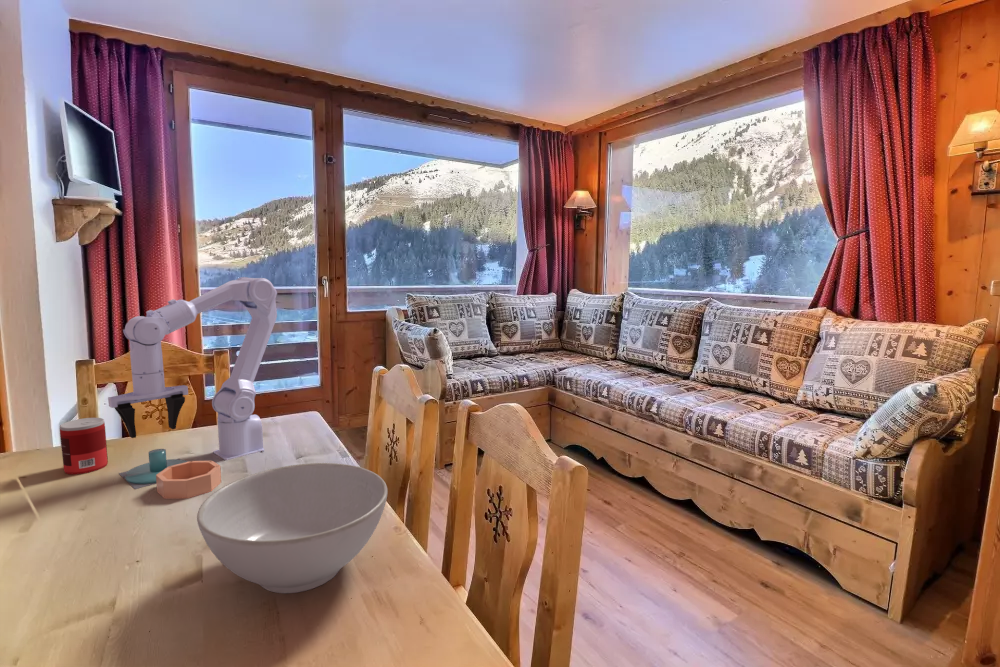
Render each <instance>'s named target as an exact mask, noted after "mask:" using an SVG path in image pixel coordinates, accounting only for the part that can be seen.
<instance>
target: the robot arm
mask: <svg viewBox="0 0 1000 667" xmlns="http://www.w3.org/2000/svg"><path fill="white" fill-rule="evenodd" d="M277 296H278V291H277V289H276V288H275V287H274V284H273V283H272V281H270V280H269V279H267V278H263V277H255V278H254V277H247V276H242V277H238V278H237V279H233V280H229V281H227V282H225V283H223V284H222V285H220V286H218V287H216V288H214V289H211V290H209V291H207V292H205V293H203V294H202V295H199V296H197V297H195V298H193V299H191V300H190V301H187V300H185V299H181V298H180V299H178V300H176V299H170V300H168V301H167V303H168V304H166V305H163V306H161V307H160V308H157V309H155V310H153V309H149V310H147V311H146V312H145V313H146V316H144V315H141V316H140V315H137V316H134V317H132V318H131V319H128V321H127V322H126V323H125V327H124V329H123V330H122V332H123V334H124V336H125V338H126V339H127V340H129V341H128V342H129V350H130V351H129V355H130V357H129V358H130V366H131V367H130V368H131V379H132V388H133V389H132V392H128V393H124V394H119V395H114V396H113V395H112V396H108V397H107V400H108V401H107V402H108V407H110V408H111V409H114V410H115V411H116V412H117V414H118V415H119V417H120V418H121V420H122V421H123V423H124V426H125V427H126V430H127V432H128V436H129V437H130V438H131V439H134V438H135V439H136V438H137V430H136V421H135V417H136V416H135V415H136V408H134V407H133V405H132V404H138V403H145V402H148V401H149V402H150V401H153V400H155V401H156V400H160V399H165V404H166V409H167V422H168V423H167V424H168V428H170V430H175V429H176V430H177V423H178V418H179V416H180V412H181V411H182V410H181V409H182V407H183V405H184V404H185V402H186V396H188V395H189V388H188V387H189V386H188V385H185V384H183V385H173V386H166V385H165V384H166V383H165V371H164V360H163V358H164V357H163V350H162V341H163V340H164V339H165V336H166V335H167V336H168V335H170V334H171V333H173V332H175V331H178V330H181V329H182V328H184V327H186V326H188V325H190V324H192V323H194V322H195V321H196V319H197V317H198V315H199V314H201V313H203V312H206V311H208V310H210V309H213V308H215V307H217V306H219V305H221V304H225V303H227V302H230V301H238V302H239V303H240V304H241V305H243V306H244V308H246V310H247V311H248V314H249V315H250V316H251V320H250V323H249V325H248V328H247V331H246V334H245V336H244V338H243V341H242V343H241V344H242V345H240V346H241V347H240V350H239V351H238V356H237V358H236V360H235V363H234V365H233V368H232V371H231V374H230V376H229V377H228V378H227V379H226V380H225V381H224V382H222V385H221V387H220V388H219V390H218V391H217V392H216V393H215V394H214V395H213V397H212V401H211V406H212V409H213V410H214V411H215V412H216V413H217V419H216V420H217V432H218V434H217V436H218V448H219V449H216V450H212V453H213V454H215V455H216V456H217V457H220V458H221V459H222V460H224V461H228V460H229V461H230V460H234V459H236V458H240V457H244V456H247V455H253V454H256V453H261V451H262V452H265V451H264V450H266V449H265V448H264V434H263V423H262V420H261V418H260V416H259V415H258V414H253V413H254V411H255V408H256V407H255V406H256V405H255V398H256V394H257V390H256V388H255V385H254V382H255V379H256V376H257V374H258V371H259V368H260V366H261V362H262V360H263V356H264V354H265V352H266V349H267V346H268V344H269V340H270V338H271V335H272V332H273V330H274V326H275V324H276V321H277V317H278V313H277V311H278V310H277V302H276V299H277V298H276V297H277ZM185 395H186V396H185Z"/></svg>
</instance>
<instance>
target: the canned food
mask: <svg viewBox="0 0 1000 667" xmlns="http://www.w3.org/2000/svg"><path fill="white" fill-rule="evenodd" d="M59 436H60V446H61V457H62V465H63V466H62V467H63V471H64V473H65V474H67V475H71V476H72V475H81V474H90V473H92V472H96V471H100V470H101V469H104V468H105V467H107V466H108V463H109V458H108V447H107V434H106V425H105V419H104V418H101V417H86V418H78V419H73V420H69V421H66V422H63V423H61V424H60V426H59Z"/></svg>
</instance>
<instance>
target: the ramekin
mask: <svg viewBox="0 0 1000 667" xmlns="http://www.w3.org/2000/svg"><path fill="white" fill-rule="evenodd" d="M221 467H222V466H221V465H220V464H218V463H217V462H215V461H213V460H190V461H187V462H185V463H181V464H177V465H173V466H169V467H167V468H166V469H164V470H163V471H161V472H160V473H158V474H157V475H156V482H157V484H156V493H158V494H159V495H160V496H161V497H162V498H163V499H164V500H166V499H167V500H168V499H170V500H171V499H173V500H174V499H175V500H177V499H179V500H180V499H190V498H193V497H197V496H201V495H204V494H208V493H211V492H212V491H213V490H215V489H216V488H218V487H219V485H220V484H221V483H222V470H221Z"/></svg>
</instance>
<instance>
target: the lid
mask: <svg viewBox="0 0 1000 667" xmlns="http://www.w3.org/2000/svg"><path fill="white" fill-rule="evenodd" d="M179 459H180V458H173V459H171V458H170V459H169V458H168V459H167V450H166V448H155V449H151V450H149V451H148V462H146V463H143V464H140V465H137V466H135V467H132V468H131V469H129V470H127V471H128V472H127V473H126V475H125V476H126V480H125V481H126V482H127V481H128V482H130V483H134V484H150V483H157V482H156V475H157V474H158V473H160V472H161V471H163V470H164V469H166V468H167V467H169V466H173V465H177V464H181V463H185V462H188V461H187V460H184V459H181V460H179ZM128 482H127V483H128Z"/></svg>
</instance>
